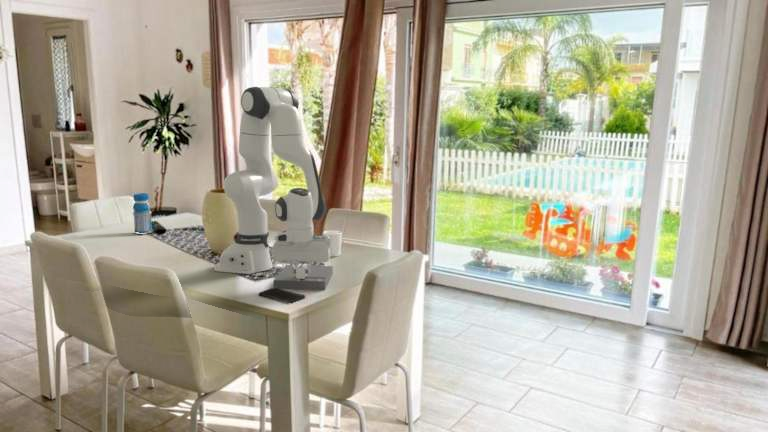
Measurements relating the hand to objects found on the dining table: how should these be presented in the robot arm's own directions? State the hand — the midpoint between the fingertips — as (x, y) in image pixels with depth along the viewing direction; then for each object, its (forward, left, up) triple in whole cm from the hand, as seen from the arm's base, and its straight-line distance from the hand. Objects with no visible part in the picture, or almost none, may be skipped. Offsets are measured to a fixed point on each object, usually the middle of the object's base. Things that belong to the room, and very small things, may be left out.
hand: (301, 273), depth 204 cm
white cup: (+5, +45, -5) cm, 46 cm away
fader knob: (0, 0, -1) cm, 1 cm away
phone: (-4, -13, -5) cm, 14 cm away
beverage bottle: (-95, +80, -5) cm, 124 cm away
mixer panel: (0, +6, -5) cm, 8 cm away
